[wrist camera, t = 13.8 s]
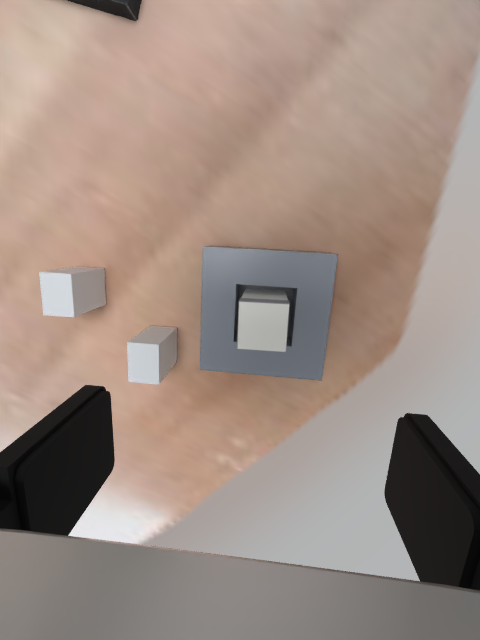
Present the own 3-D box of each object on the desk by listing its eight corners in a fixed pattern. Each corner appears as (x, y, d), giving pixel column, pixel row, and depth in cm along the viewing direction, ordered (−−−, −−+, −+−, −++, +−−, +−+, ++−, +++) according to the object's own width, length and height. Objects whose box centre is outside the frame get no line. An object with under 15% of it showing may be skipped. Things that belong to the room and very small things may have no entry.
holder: (329, 252, 32) (337, 254, 28) (316, 364, 35) (321, 380, 31) (210, 245, 33) (202, 246, 29) (207, 355, 36) (199, 369, 32)
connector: (285, 290, 32) (289, 303, 26) (283, 329, 33) (286, 352, 27) (245, 288, 33) (238, 301, 26) (243, 327, 34) (236, 349, 27)
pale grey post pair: (177, 272, 34) (158, 279, 28) (176, 361, 36) (159, 384, 31) (77, 266, 35) (39, 271, 29) (83, 353, 37) (49, 374, 32)
